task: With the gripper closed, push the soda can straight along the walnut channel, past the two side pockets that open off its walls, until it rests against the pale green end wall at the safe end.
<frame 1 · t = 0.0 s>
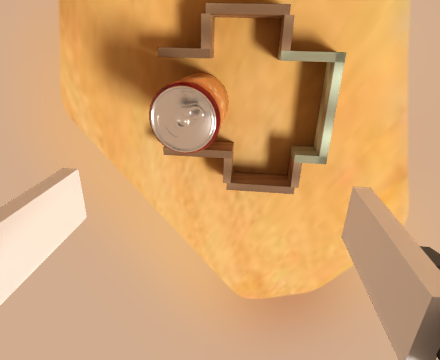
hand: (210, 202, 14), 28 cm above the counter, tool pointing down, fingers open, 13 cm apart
soda can: (202, 100, 40), on the counter
trap box: (246, 103, 40), on the counter
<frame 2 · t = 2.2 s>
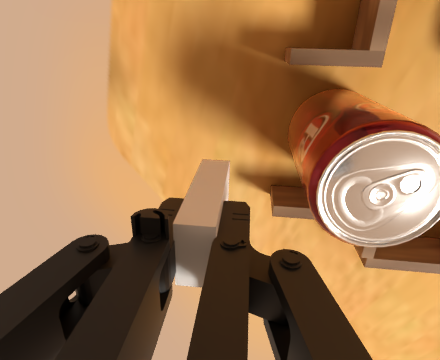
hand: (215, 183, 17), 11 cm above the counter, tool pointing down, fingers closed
soda can: (329, 130, 26), on the counter
trap box: (402, 135, 25), on the counter
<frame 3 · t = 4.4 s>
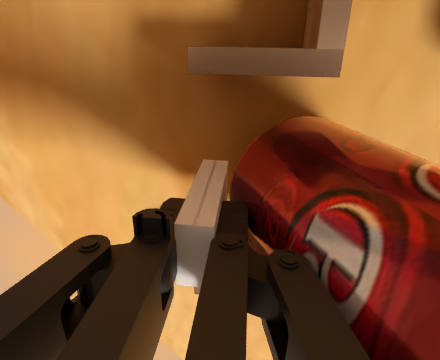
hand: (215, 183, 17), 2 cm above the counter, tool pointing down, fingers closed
soda can: (286, 177, 17), point 1 cm above the counter, touching gripper, hand
trap box: (386, 173, 17), on the counter
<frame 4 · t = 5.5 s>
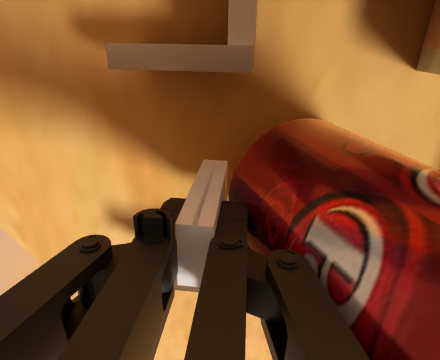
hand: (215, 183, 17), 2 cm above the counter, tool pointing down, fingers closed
soda can: (285, 178, 17), point 1 cm above the counter, touching gripper, hand
trap box: (325, 168, 17), on the counter
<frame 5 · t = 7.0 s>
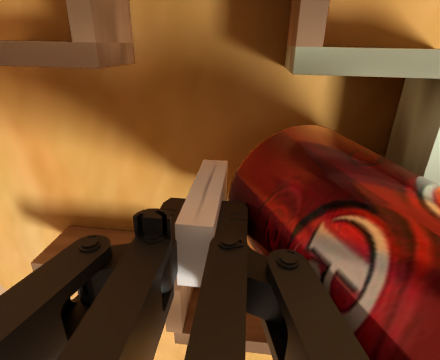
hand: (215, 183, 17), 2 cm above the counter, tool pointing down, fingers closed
soda can: (284, 183, 17), point 1 cm above the counter, touching gripper, hand
trap box: (216, 162, 18), on the counter
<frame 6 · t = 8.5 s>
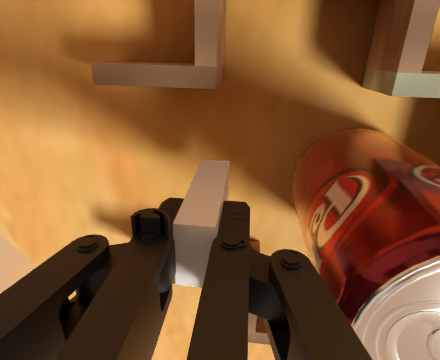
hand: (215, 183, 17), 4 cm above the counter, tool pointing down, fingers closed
soda can: (346, 179, 20), on the counter
trap box: (288, 172, 20), on the counter
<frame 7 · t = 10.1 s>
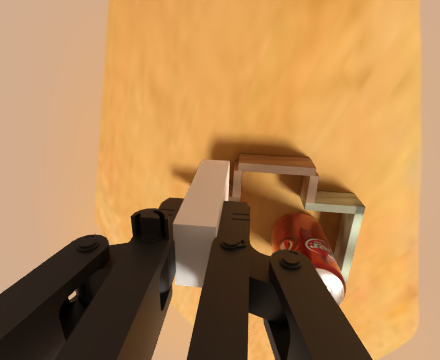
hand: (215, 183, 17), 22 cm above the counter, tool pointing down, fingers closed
soda can: (295, 232, 43), on the counter
trap box: (269, 229, 43), on the counter
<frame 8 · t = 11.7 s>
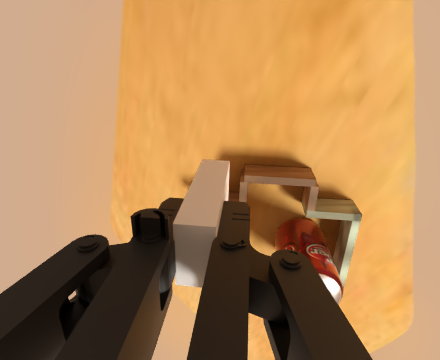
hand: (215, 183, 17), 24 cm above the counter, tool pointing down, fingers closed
soda can: (298, 236, 46), on the counter
trap box: (273, 233, 46), on the counter
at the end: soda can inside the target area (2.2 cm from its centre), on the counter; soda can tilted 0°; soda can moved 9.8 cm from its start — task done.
